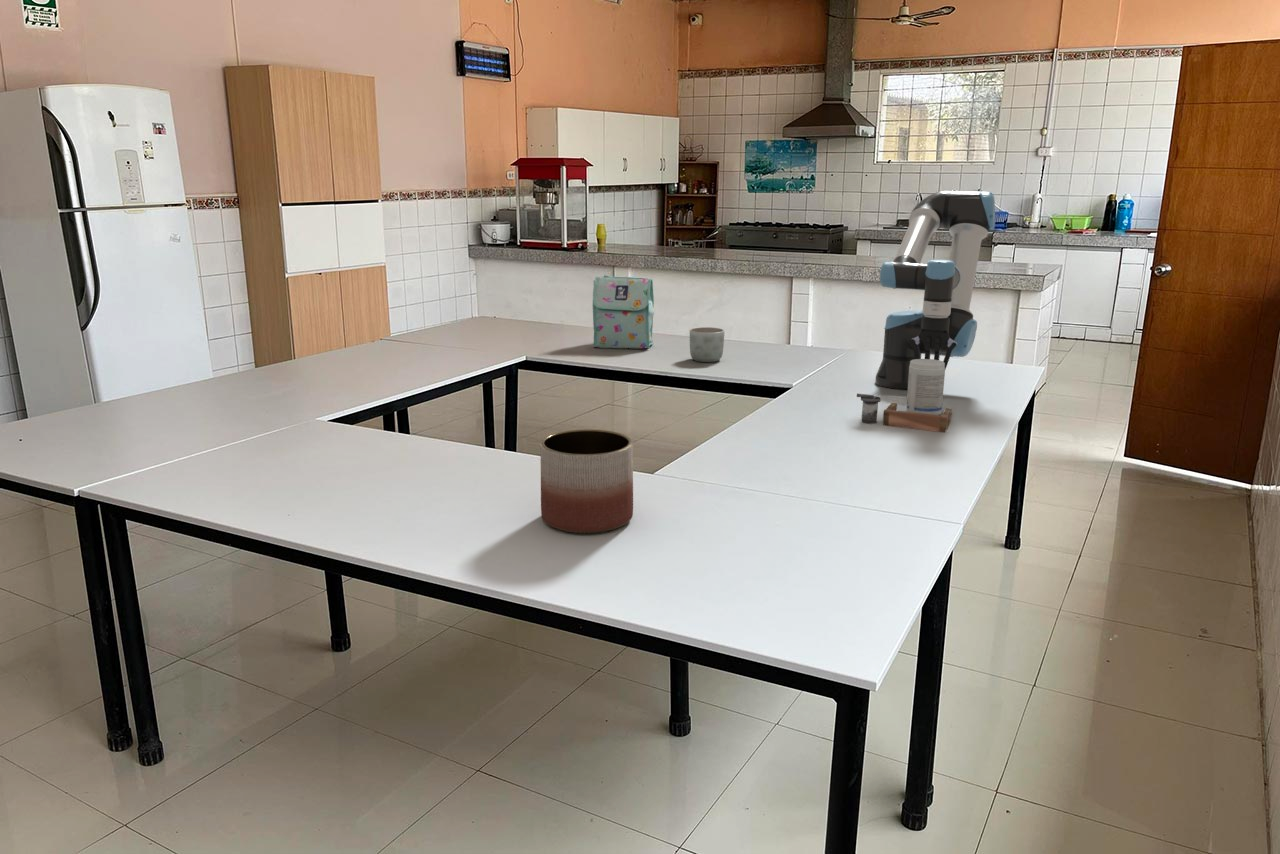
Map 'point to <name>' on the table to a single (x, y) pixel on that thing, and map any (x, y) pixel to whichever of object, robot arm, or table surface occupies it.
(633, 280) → the lunch bag
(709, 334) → the planter
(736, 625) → the table surface
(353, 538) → the table surface
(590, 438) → the planter
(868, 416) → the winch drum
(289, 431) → the table surface
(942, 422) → the bay
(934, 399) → the supplement tub
